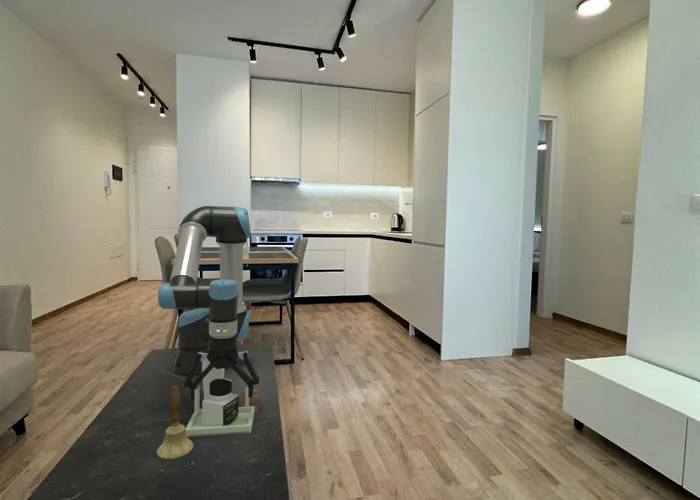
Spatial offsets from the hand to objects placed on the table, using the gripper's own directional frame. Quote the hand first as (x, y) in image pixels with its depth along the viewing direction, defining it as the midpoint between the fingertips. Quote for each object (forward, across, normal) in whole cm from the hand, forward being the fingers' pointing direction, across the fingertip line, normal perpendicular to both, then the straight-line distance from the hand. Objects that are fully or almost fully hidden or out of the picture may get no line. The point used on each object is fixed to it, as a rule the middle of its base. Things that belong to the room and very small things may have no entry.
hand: (222, 409), depth 107 cm
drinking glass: (+4, -5, +14) cm, 16 cm away
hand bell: (+4, -9, -12) cm, 16 cm away
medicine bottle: (+4, 0, 0) cm, 4 cm away
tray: (+4, 0, 0) cm, 4 cm away
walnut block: (+4, +7, +9) cm, 12 cm away
